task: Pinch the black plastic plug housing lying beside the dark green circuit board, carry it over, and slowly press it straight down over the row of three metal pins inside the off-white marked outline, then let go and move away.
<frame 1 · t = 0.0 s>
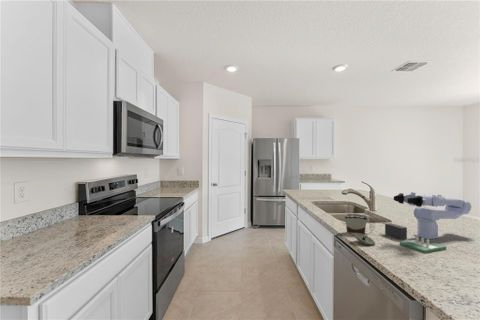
hand: (401, 199, 129), 22 cm above the worktop, tool horizontal, fingers open, 7 cm apart
header board: (422, 246, 120), on the worktop
food container: (354, 232, 144), on the worktop
plug housing: (395, 236, 136), on the worktop
lid: (364, 243, 126), on the worktop
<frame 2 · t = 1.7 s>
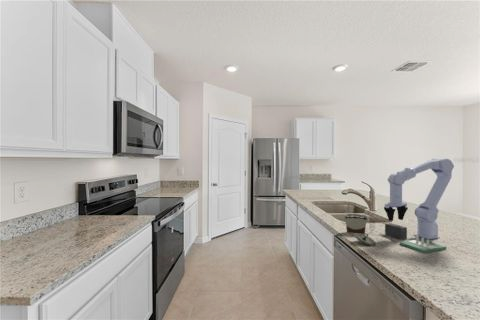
hand: (395, 220, 136), 9 cm above the worktop, tool pointing down, fingers open, 7 cm apart
nothing on the worktop moved.
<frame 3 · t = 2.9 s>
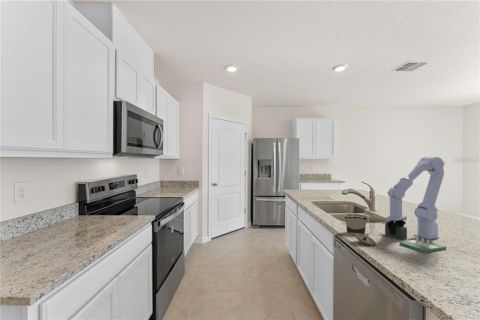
hand: (395, 233, 136), 1 cm above the worktop, tool pointing down, fingers closed on plug housing, 4 cm apart
plug housing: (395, 236, 136), on the worktop, touching gripper
everything else where it was.
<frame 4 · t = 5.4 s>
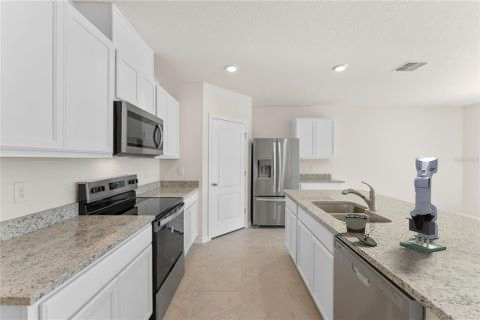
hand: (422, 229, 120), 8 cm above the worktop, tool pointing down, fingers closed on plug housing, 4 cm apart
plug housing: (421, 232, 121), point 7 cm above the worktop, touching gripper
everything else where it was.
when the fingers open (3 cm above the worktop, at t = 7.7 s): plug housing stays where it is, resting on header board.
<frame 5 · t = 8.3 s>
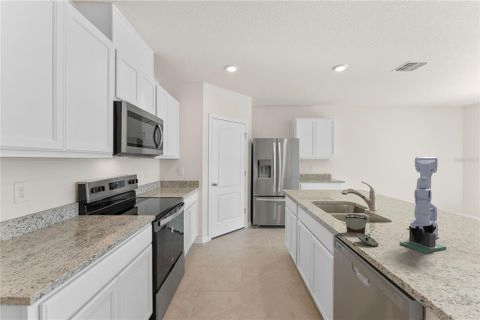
hand: (422, 241, 120), 3 cm above the worktop, tool pointing down, fingers open, 7 cm apart
plug housing: (421, 243, 121), point 1 cm above the worktop, touching header board
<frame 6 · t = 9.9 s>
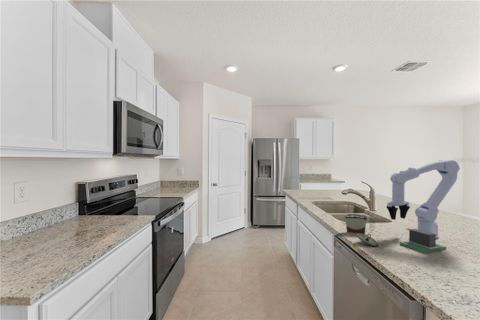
hand: (398, 218, 138), 9 cm above the worktop, tool pointing down, fingers open, 7 cm apart
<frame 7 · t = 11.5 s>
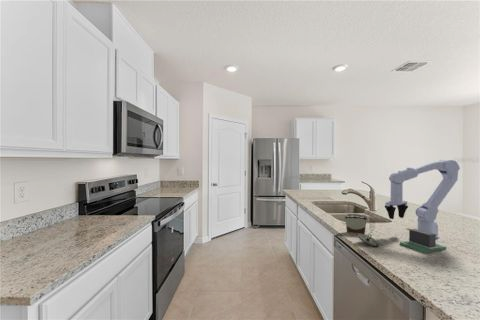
hand: (396, 218, 139), 9 cm above the worktop, tool pointing down, fingers open, 7 cm apart
at the end: plug housing 0.3 cm off-centre on the header board, point 1.3 cm above the header board's base; plug housing tilted 0°; the gripper is holding nothing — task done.
